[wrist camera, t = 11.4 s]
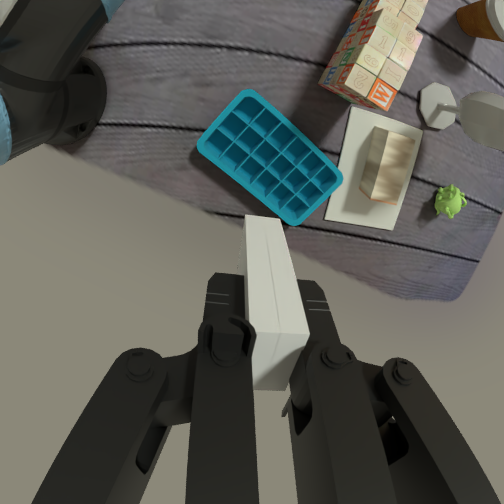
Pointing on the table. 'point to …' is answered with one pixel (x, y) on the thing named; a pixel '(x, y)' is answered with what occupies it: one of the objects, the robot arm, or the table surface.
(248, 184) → the ice cube tray
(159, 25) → the table surface
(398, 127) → the rubber mat
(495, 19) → the disposable coffee cup
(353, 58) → the stack of blocks
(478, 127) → the wineglass
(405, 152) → the birch block
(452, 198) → the green monster figurine
